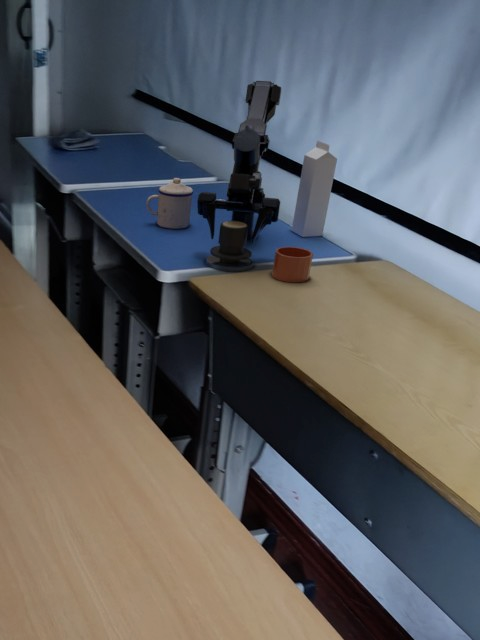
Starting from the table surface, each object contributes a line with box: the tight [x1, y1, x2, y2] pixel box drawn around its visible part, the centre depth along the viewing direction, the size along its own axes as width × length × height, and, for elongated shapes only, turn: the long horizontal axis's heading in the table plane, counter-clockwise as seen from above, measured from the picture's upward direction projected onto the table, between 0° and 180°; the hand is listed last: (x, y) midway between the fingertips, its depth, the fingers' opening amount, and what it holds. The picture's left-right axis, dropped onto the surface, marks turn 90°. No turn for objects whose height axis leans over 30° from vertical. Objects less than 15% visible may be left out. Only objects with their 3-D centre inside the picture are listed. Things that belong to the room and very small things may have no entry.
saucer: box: [205, 254, 254, 272], centre depth 195 cm, size 11×11×1 cm
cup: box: [271, 246, 314, 283], centre depth 188 cm, size 8×8×6 cm
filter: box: [209, 220, 253, 264], centre depth 193 cm, size 10×10×8 cm
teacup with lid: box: [146, 177, 194, 230], centre depth 219 cm, size 12×9×12 cm
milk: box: [291, 140, 338, 238], centre depth 212 cm, size 6×6×22 cm
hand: (232, 240), depth 191 cm, fingers open, 9 cm apart
